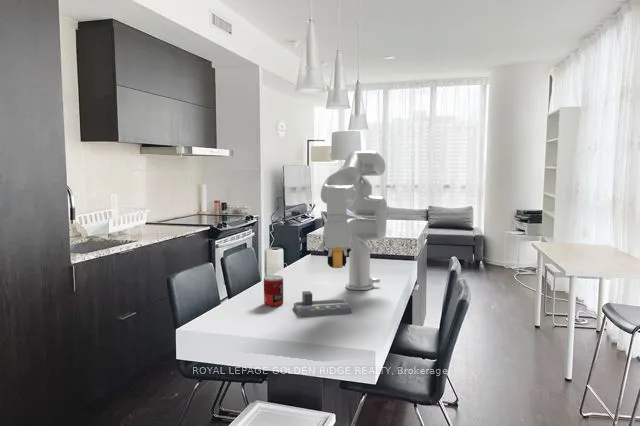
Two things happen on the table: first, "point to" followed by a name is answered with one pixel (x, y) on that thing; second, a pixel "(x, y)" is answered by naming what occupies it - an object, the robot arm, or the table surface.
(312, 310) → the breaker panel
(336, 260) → the orange pill bottle
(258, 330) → the table surface
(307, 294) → the knob
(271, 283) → the canned food
